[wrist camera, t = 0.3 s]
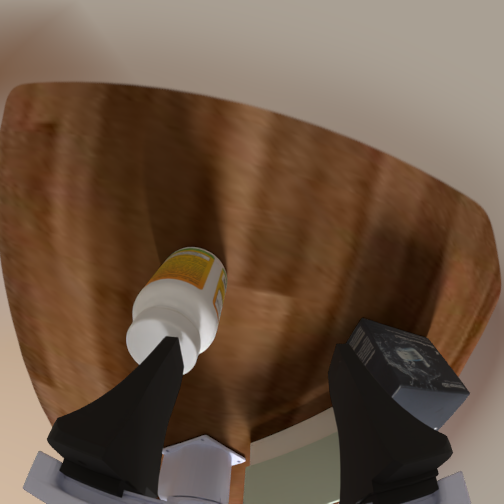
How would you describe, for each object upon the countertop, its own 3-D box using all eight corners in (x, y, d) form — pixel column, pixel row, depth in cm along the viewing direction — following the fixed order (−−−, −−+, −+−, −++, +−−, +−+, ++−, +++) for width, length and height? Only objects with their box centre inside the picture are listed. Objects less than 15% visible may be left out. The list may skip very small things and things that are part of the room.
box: (428, 335, 25) (473, 393, 16) (400, 374, 26) (433, 436, 17) (361, 314, 24) (402, 386, 15) (332, 360, 26) (356, 436, 17)
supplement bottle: (151, 269, 23) (96, 334, 14) (199, 232, 22) (159, 286, 12) (191, 316, 24) (161, 397, 15) (241, 285, 23) (231, 364, 14)
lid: (244, 524, 18) (241, 522, 18) (248, 468, 26) (245, 467, 26) (397, 476, 15) (395, 475, 15) (375, 414, 23) (373, 412, 23)
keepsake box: (285, 463, 32) (287, 485, 28) (250, 443, 30) (249, 468, 26) (388, 415, 29) (397, 438, 25) (365, 387, 27) (375, 413, 23)
